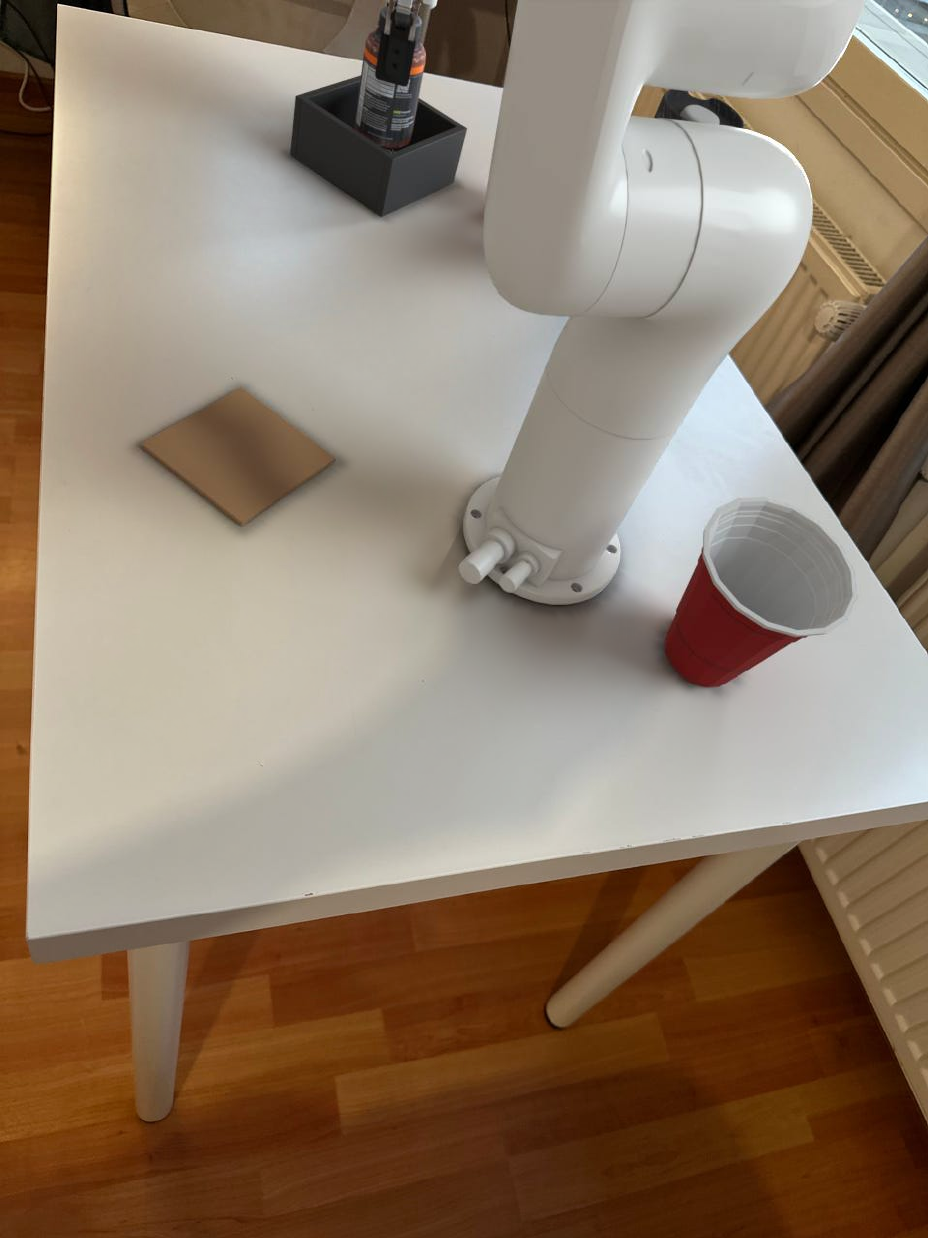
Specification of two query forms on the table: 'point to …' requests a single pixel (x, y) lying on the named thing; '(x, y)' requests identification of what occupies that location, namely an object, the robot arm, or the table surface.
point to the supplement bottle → (388, 95)
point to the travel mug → (697, 109)
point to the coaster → (239, 455)
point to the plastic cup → (757, 590)
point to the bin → (374, 149)
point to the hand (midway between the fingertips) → (393, 64)
